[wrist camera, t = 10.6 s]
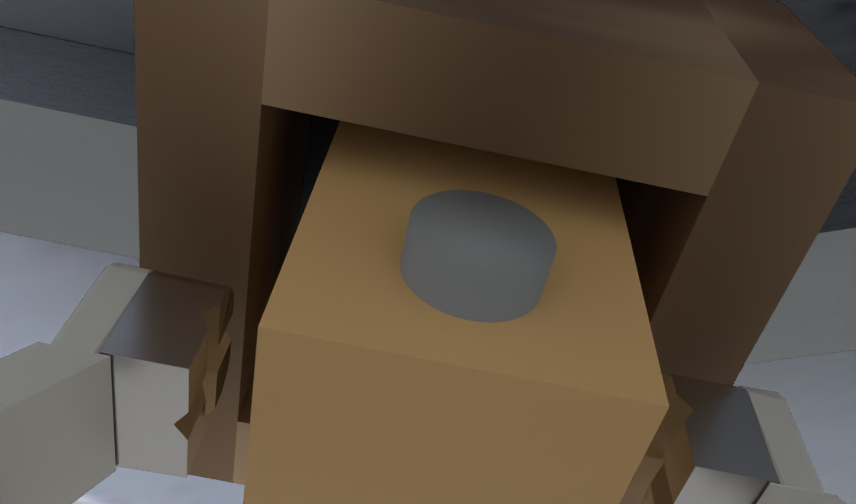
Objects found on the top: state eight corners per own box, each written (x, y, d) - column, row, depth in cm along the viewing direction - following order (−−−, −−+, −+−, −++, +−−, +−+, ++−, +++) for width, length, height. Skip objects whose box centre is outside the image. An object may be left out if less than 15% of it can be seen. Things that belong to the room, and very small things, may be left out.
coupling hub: (783, 2, 12) (888, 110, 9) (609, 393, 17) (635, 556, 14) (235, -118, 12) (132, -52, 9) (214, 316, 17) (144, 466, 13)
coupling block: (609, 73, 13) (692, 361, 7) (528, 313, 16) (541, 653, 10) (370, 22, 13) (262, 276, 7) (333, 274, 16) (234, 597, 10)
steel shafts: (1346, 81, 12) (1509, 152, 10) (1087, 367, 16) (1172, 461, 14) (-401, -305, 11) (-596, -309, 9) (-268, 94, 15) (-390, 155, 13)
